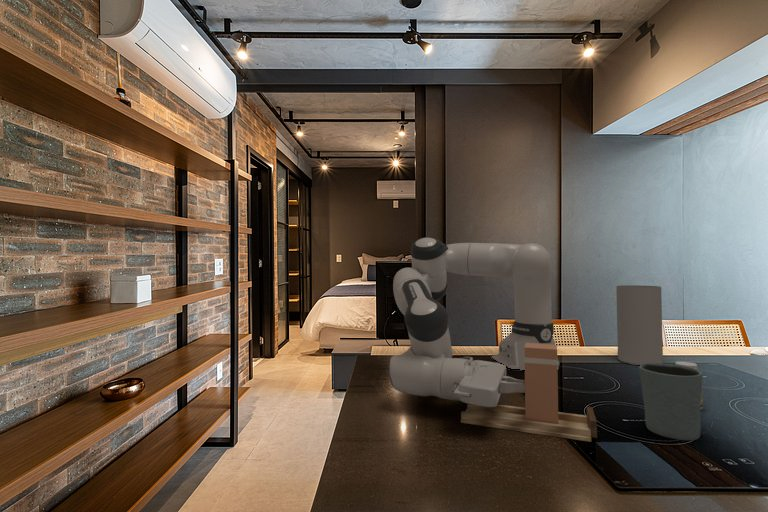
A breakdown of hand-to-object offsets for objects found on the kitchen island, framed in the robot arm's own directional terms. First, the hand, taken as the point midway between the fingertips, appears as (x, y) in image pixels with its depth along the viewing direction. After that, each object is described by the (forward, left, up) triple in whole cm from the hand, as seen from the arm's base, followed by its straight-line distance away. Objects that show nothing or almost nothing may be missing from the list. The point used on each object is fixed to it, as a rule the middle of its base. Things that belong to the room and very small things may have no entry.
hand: (525, 386), depth 81 cm
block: (+2, +2, -7) cm, 7 cm away
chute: (0, 0, -7) cm, 8 cm away
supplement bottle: (+4, +41, -8) cm, 41 cm away
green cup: (+12, +25, -8) cm, 28 cm away
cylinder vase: (-30, +68, -8) cm, 74 cm away
